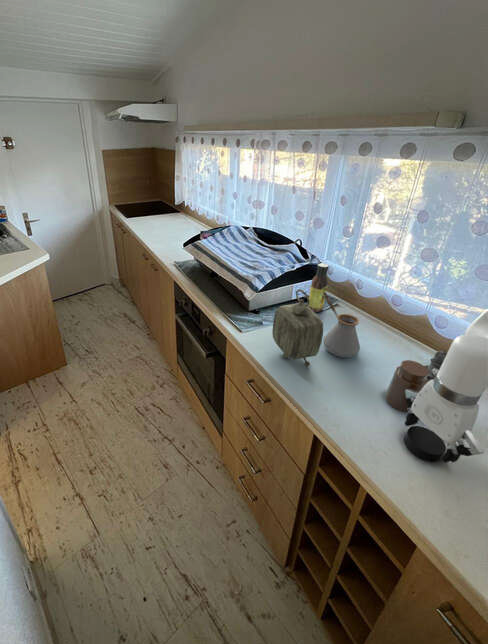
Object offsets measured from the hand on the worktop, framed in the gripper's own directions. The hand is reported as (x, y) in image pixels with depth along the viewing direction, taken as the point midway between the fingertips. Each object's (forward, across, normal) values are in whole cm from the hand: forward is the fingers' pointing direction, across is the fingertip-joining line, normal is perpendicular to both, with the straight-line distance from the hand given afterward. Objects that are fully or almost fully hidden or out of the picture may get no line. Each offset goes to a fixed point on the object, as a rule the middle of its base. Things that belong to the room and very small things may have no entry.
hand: (428, 441), depth 73 cm
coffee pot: (+2, -41, +5) cm, 41 cm away
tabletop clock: (+2, -38, -14) cm, 40 cm away
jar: (+2, -13, +6) cm, 14 cm away
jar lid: (0, 0, -1) cm, 1 cm away
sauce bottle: (+2, -62, +12) cm, 63 cm away
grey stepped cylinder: (+3, -17, +21) cm, 27 cm away
